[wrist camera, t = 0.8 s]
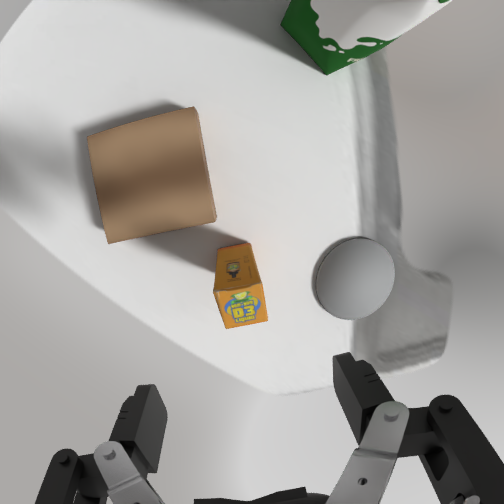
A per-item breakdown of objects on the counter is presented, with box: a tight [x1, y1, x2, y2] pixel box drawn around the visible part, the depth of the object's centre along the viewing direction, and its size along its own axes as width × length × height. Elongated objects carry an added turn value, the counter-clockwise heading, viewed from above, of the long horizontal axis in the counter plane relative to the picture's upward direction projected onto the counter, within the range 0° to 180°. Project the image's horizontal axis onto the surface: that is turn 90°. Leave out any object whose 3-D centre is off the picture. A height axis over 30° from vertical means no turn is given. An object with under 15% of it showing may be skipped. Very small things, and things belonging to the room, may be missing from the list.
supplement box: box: [213, 243, 268, 329], centre depth 25 cm, size 3×3×10 cm
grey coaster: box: [316, 238, 395, 320], centre depth 31 cm, size 9×9×1 cm
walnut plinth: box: [87, 107, 217, 244], centre depth 26 cm, size 10×10×3 cm
